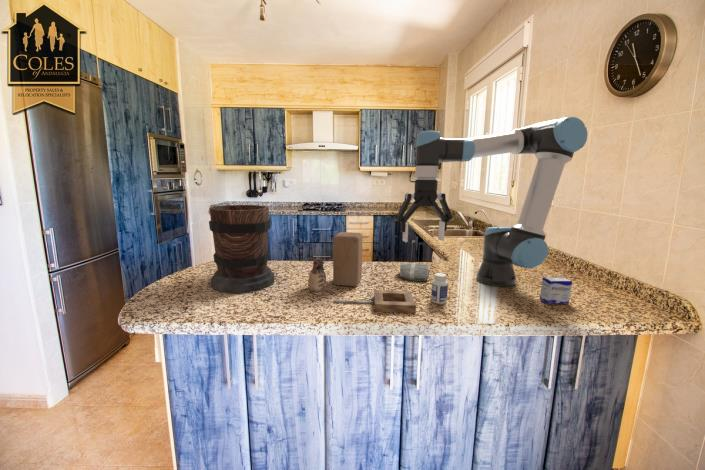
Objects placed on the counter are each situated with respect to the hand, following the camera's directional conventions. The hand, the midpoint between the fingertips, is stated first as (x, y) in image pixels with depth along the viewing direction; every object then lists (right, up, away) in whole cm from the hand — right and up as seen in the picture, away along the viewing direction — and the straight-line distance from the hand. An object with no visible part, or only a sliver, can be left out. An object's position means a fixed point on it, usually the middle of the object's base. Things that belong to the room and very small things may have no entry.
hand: (423, 240), depth 114 cm
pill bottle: (+5, -21, 0) cm, 22 cm away
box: (+47, -22, +1) cm, 51 cm away
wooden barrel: (-69, -17, +19) cm, 73 cm away
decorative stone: (+1, -17, +27) cm, 32 cm away
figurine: (-38, -19, +11) cm, 44 cm away
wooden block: (-27, -18, +18) cm, 37 cm away
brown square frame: (-18, -21, -3) cm, 28 cm away
